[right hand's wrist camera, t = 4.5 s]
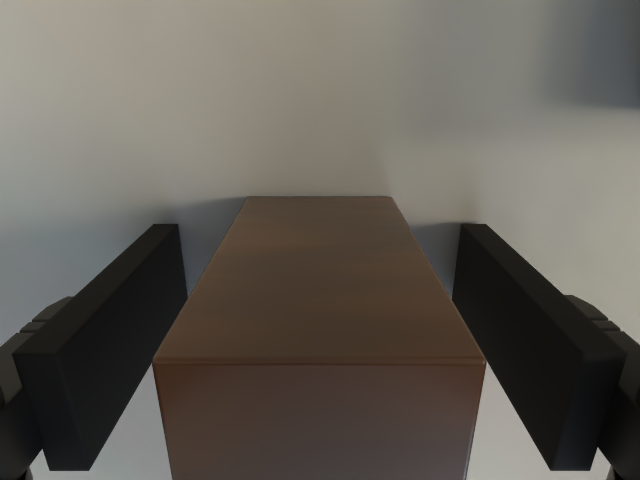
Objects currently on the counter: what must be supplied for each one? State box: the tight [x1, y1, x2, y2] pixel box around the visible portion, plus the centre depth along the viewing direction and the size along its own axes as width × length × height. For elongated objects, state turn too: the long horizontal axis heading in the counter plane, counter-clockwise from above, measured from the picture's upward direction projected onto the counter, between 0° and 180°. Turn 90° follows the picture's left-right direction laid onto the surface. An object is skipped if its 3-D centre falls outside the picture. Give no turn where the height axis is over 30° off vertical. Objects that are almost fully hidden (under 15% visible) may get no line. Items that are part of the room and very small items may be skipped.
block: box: [152, 197, 487, 480], centre depth 10 cm, size 4×4×8 cm
